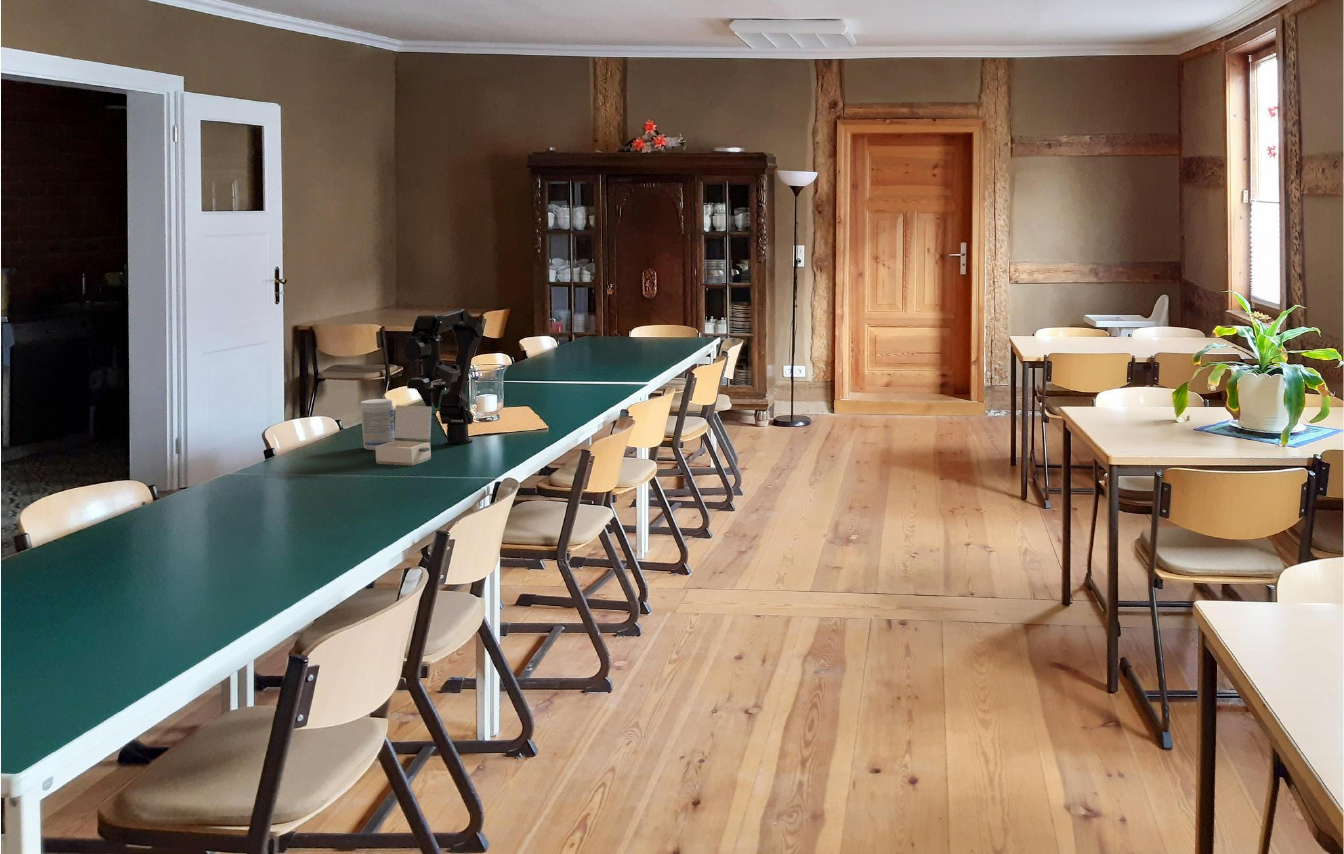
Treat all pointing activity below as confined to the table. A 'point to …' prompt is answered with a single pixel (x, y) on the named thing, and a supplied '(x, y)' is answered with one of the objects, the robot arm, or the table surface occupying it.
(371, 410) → the supplement tub
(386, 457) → the pot
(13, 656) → the table surface
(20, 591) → the table surface
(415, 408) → the lid
